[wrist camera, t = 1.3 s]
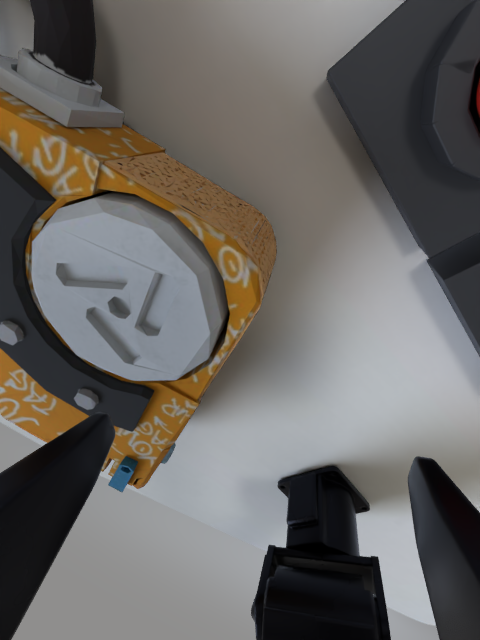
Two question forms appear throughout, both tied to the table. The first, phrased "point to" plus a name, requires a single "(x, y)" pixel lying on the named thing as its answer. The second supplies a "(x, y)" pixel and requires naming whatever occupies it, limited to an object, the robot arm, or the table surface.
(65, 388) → the device
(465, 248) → the panel
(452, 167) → the button block
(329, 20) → the table surface
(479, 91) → the power button
